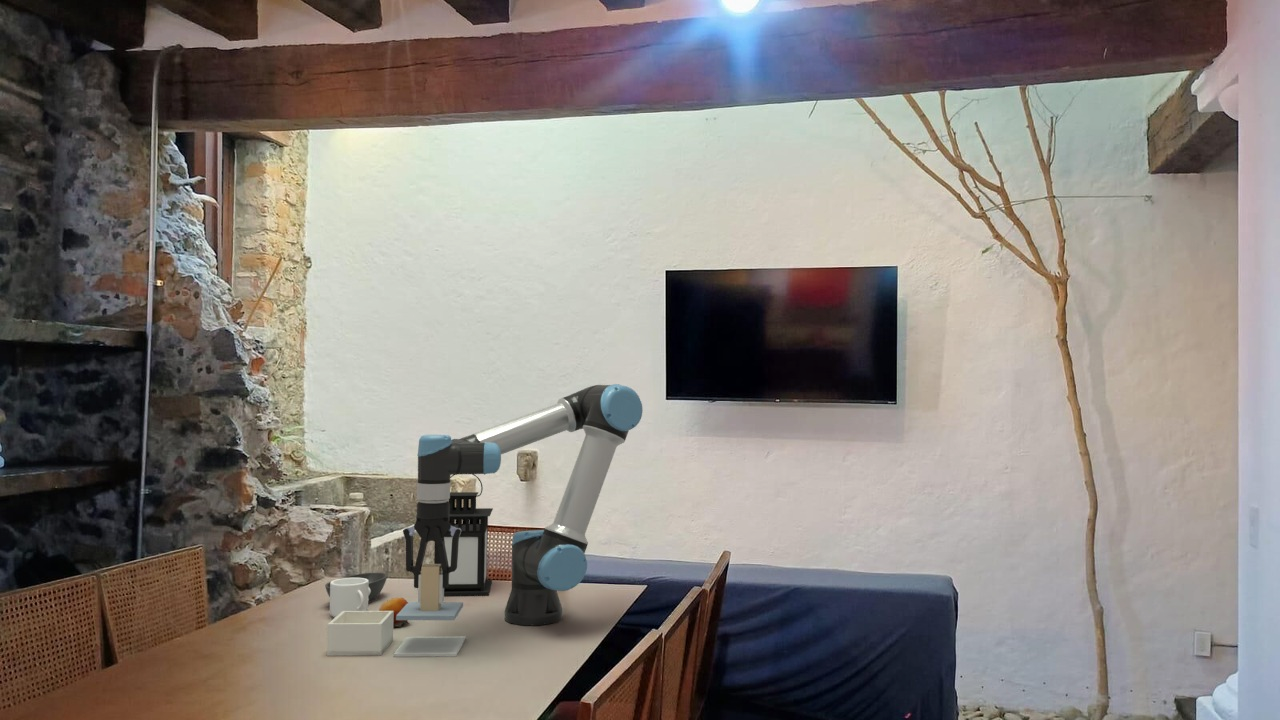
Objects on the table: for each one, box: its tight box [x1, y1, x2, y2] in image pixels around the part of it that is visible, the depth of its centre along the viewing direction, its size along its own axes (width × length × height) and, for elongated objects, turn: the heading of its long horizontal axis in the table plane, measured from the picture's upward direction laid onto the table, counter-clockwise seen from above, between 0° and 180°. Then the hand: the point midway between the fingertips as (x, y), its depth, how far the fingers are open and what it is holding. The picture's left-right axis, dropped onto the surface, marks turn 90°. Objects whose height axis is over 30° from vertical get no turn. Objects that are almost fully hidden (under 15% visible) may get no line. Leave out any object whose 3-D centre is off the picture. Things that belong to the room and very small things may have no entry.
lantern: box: [433, 474, 494, 598], centre depth 265 cm, size 17×17×35 cm
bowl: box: [324, 572, 388, 604], centre depth 248 cm, size 12×22×6 cm, turn 160°
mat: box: [393, 635, 467, 658], centre depth 204 cm, size 14×14×1 cm
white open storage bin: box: [326, 610, 394, 657], centre depth 204 cm, size 12×12×7 cm
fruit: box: [378, 596, 410, 628], centre depth 224 cm, size 8×8×8 cm
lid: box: [396, 563, 464, 621], centre depth 205 cm, size 13×13×11 cm
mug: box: [329, 577, 371, 618], centre depth 232 cm, size 12×10×9 cm
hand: (430, 601), depth 205 cm, fingers closed on lid, 4 cm apart
